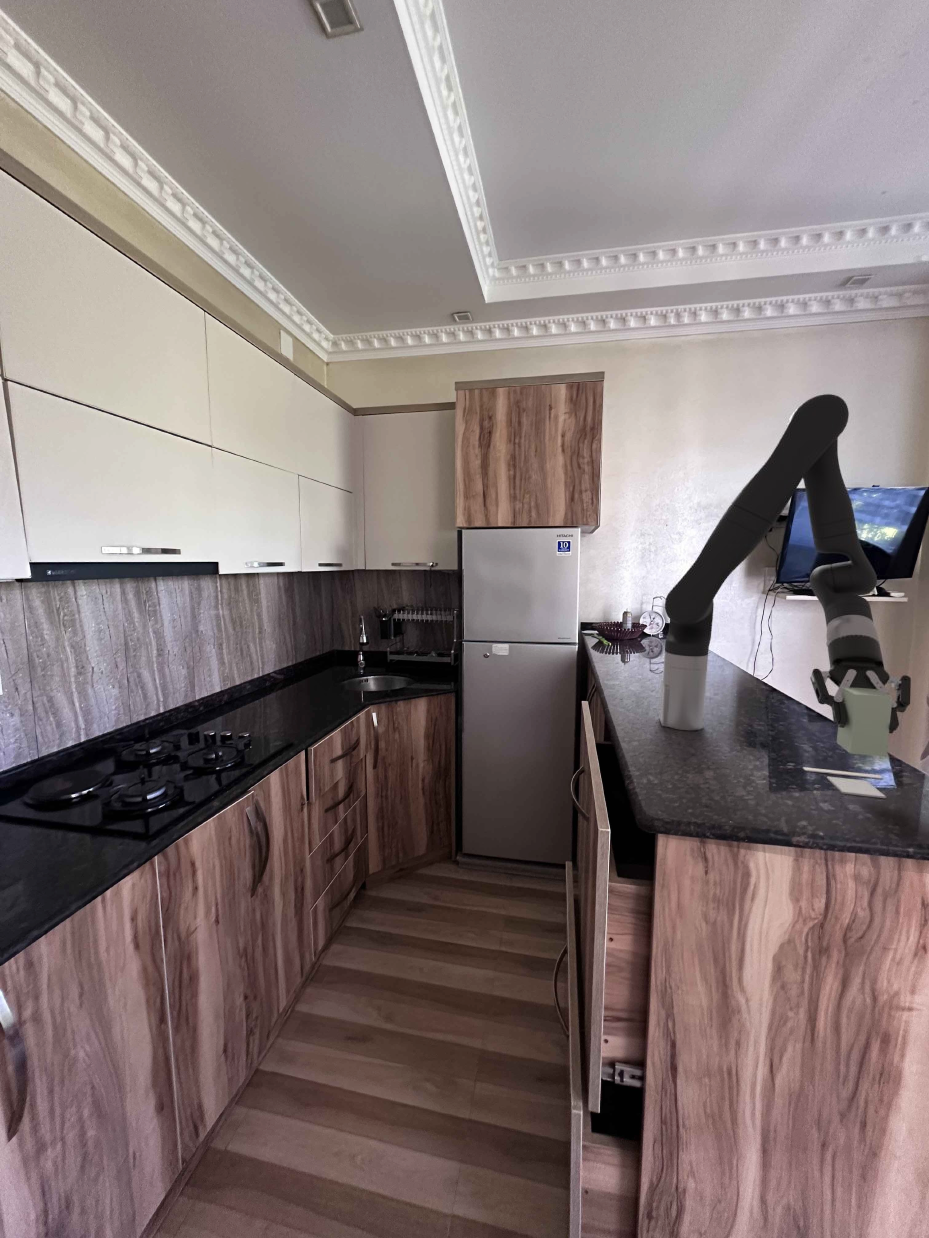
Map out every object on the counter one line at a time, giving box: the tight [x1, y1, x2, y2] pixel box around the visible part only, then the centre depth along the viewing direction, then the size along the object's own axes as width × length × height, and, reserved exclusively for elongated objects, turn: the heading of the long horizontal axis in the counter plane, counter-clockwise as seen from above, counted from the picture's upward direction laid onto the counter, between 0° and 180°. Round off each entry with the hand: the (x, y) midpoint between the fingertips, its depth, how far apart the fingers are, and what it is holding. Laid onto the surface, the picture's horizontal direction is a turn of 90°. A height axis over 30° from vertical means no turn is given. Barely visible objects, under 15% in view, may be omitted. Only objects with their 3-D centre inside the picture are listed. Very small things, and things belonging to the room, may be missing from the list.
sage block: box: [836, 687, 893, 757], centre depth 82 cm, size 5×5×10 cm
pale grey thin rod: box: [802, 766, 884, 780], centre depth 89 cm, size 12×1×1 cm, turn 74°
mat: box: [826, 776, 887, 799], centre depth 83 cm, size 6×6×1 cm
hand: (866, 728), depth 80 cm, fingers closed on sage block, 5 cm apart
